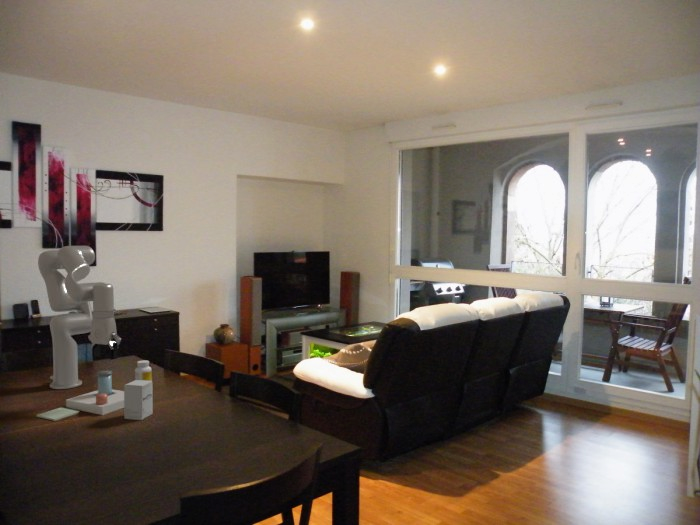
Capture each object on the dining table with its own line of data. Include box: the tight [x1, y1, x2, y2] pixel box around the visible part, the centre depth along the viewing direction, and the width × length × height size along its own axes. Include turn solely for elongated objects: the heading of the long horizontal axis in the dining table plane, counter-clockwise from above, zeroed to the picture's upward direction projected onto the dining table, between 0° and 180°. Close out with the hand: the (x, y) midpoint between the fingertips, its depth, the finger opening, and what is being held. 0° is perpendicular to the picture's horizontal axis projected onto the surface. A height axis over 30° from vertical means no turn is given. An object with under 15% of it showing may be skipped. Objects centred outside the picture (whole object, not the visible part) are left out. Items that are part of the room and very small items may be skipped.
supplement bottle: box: [134, 359, 153, 381], centre depth 231 cm, size 7×7×13 cm
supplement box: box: [123, 379, 154, 421], centre depth 200 cm, size 7×7×13 cm
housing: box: [65, 388, 124, 416], centre depth 214 cm, size 20×18×3 cm
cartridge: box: [96, 370, 113, 396], centre depth 218 cm, size 6×6×12 cm
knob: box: [96, 393, 108, 404], centre depth 206 cm, size 4×4×6 cm
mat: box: [36, 406, 80, 422], centre depth 202 cm, size 10×10×1 cm
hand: (104, 357), depth 217 cm, fingers open, 9 cm apart
